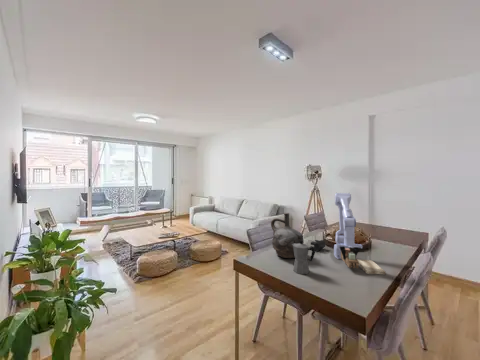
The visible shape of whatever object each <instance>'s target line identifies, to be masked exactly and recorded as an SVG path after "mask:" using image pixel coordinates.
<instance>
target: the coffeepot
mask: <svg viewBox="0 0 480 360" xmlns="http://www.w3.org/2000/svg"><path fill="white" fill-rule="evenodd" d="M303 241H304V240H303ZM303 241H300V243H298V244H295V243H294V244H291V245H292V246H293V249H294V256H295V259H294V263H293V267H292V268H293V272H294V273H295V274H298V275H307V274H309V272H310V269H309V268H310V267H309V262H313V260H314V257H315V255H316V251H315V250H314V248H313V247H314V246H313V247H311V246H310V245H309V244H307V243H303V244H302V242H303ZM309 251H311V255H310V258H309V259H308V256H309Z"/></svg>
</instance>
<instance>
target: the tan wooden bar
mask: <svg viewBox="0 0 480 360" xmlns="http://www.w3.org/2000/svg"><path fill="white" fill-rule="evenodd" d="M357 259H358V258H357V257H356V258H355V260H350V259H349V258H348V255H345V260H344V259H343V255H342V252H341V259H340V260H341V261H343V262H344V263H345V265H347V267H348V268H350V269H352V268H353V269H355V268H356V269H359V267H360V266H359V261H358V260H357Z"/></svg>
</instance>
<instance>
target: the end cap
mask: <svg viewBox="0 0 480 360" xmlns="http://www.w3.org/2000/svg"><path fill="white" fill-rule="evenodd" d="M310 245H312V246H310V247H313V248H314V250H315V252H319V251H320V250H322V249H325V247H326V242H325V240H322V239H321V240H318V239H315V240H314V241H310Z"/></svg>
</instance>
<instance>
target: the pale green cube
mask: <svg viewBox="0 0 480 360" xmlns="http://www.w3.org/2000/svg"><path fill="white" fill-rule="evenodd" d="M348 258H349V259H350V260H355V254H354V253H353V252H350V253H348Z"/></svg>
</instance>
